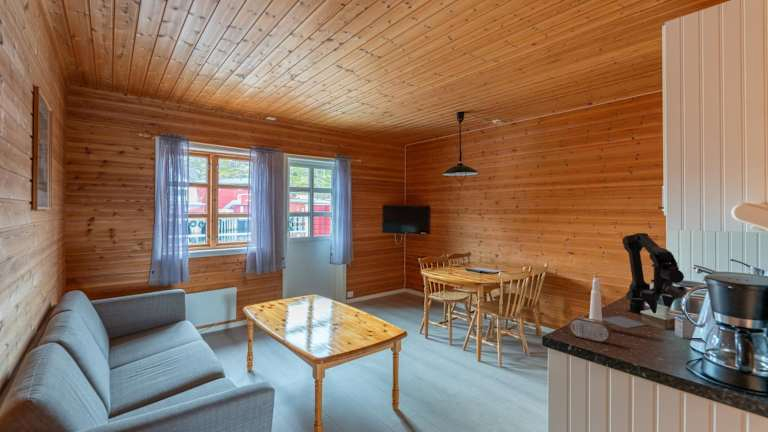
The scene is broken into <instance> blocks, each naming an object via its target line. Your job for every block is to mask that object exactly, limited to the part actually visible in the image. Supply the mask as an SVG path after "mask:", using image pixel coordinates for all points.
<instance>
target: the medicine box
mask: <svg viewBox="0 0 768 432" xmlns="http://www.w3.org/2000/svg"><path fill="white" fill-rule="evenodd" d="M685 315H686V314H678V315H675V328H674V335H675V336H677V337H679V338H680V339H691V338H692V335H693V333H694V330H695V325H694V324H692V323H691V322H690V321H689V320H688V319H687V317H686V316H685ZM689 315H690V317H691V318H692V319H693V320H694V321H695V322H697V321H698V318H699V317H700V316H698V315H695V314H689Z"/></svg>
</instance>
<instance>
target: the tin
mask: <svg viewBox="0 0 768 432" xmlns="http://www.w3.org/2000/svg"><path fill="white" fill-rule="evenodd" d="M568 327H569V331H570V332H571V334H573V336H575V337H577V338H579V337H580V339H583V338H584V339H583V340H587V339H588V341H592V342H596V341H597V343H606V342H608V341H610V339H611V338H612V335H613V330H612V329H611V326H610V325H609V324H608V322H606V321H603V320H602V321H600V320H594V319H590V318H589V317H584V316H574V317H572V319H571V320H570V322H569V323H568Z"/></svg>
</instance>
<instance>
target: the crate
mask: <svg viewBox="0 0 768 432" xmlns="http://www.w3.org/2000/svg"><path fill="white" fill-rule="evenodd" d="M641 323H644V324H647V326H648V325H649V326H652V327H656V328H658V329H661V330H664V329H665V330H672V329H675V319H668V320H664V319H661V318H657V317H654V316H650V315H647V314H643V313H642V314H641ZM671 328H672V329H671ZM665 330H664V331H665Z"/></svg>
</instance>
